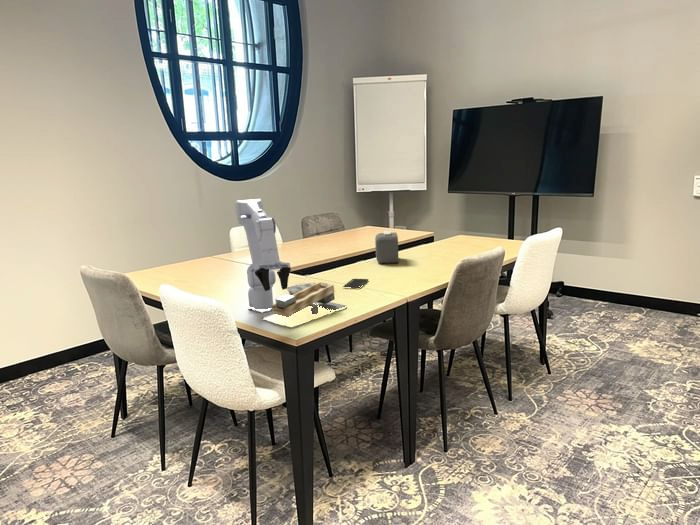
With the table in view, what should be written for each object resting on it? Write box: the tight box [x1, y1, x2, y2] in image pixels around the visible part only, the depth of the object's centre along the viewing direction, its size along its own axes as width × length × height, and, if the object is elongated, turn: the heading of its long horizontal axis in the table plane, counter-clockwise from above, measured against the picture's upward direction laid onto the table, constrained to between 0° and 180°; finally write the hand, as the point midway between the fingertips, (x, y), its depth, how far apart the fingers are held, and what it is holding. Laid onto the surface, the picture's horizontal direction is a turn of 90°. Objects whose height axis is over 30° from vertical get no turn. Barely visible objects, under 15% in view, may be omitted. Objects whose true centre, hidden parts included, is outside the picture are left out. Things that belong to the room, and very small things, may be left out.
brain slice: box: [286, 282, 331, 295], centre depth 222 cm, size 20×17×3 cm
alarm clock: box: [374, 230, 399, 264], centre depth 278 cm, size 16×11×16 cm
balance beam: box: [271, 281, 335, 317], centre depth 193 cm, size 24×12×6 cm, turn 138°
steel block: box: [274, 293, 296, 309], centre depth 187 cm, size 5×5×4 cm
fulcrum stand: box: [311, 301, 347, 314], centre depth 194 cm, size 28×16×3 cm, turn 138°
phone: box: [342, 278, 369, 288], centre depth 234 cm, size 8×1×15 cm
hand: (276, 289), depth 180 cm, fingers open, 7 cm apart
